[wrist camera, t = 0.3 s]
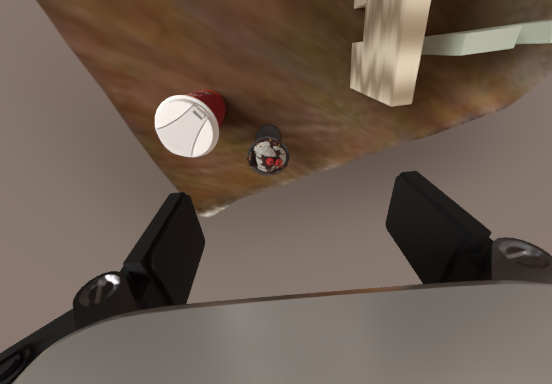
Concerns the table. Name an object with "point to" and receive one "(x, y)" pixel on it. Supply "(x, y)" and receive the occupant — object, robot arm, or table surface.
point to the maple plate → (389, 49)
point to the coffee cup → (190, 122)
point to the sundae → (268, 152)
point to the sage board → (488, 39)
